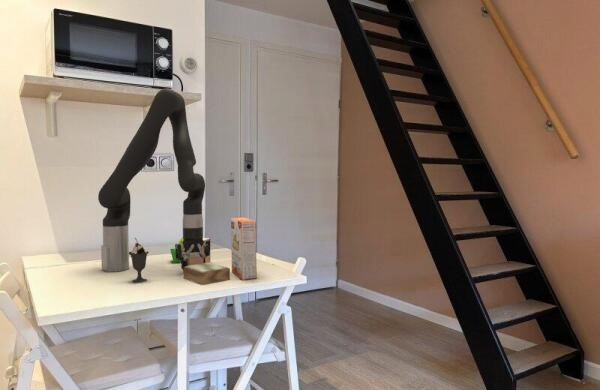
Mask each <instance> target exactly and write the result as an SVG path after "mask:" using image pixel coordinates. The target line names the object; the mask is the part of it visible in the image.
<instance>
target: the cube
mask: <svg viewBox="0 0 600 390" xmlns="http://www.w3.org/2000/svg"><path fill="white" fill-rule="evenodd" d="M186 261H187V266H190V265H196V264H202V263H203V258H202V257H198V256H192V257H188V258H187V260H186ZM182 271H183V270H182ZM183 273H184V271H183Z"/></svg>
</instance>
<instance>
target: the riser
mask: <svg viewBox="0 0 600 390" xmlns="http://www.w3.org/2000/svg"><path fill="white" fill-rule="evenodd" d="M230 273H231V270H230V268H229V267H228V266H224V265H220V264H218V263H217V264H216V263H213V262H211V261H210V262H209V263H202V264H196V265H190V266H185V267H184V272H183V279H185V280H189V281H191V282H194V283H197V284H199V285H201V286H203V285H208V284H214V283H219V282H224V281H230V280H231V277H230V275H231V274H230Z"/></svg>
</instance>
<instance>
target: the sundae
mask: <svg viewBox="0 0 600 390" xmlns="http://www.w3.org/2000/svg"><path fill="white" fill-rule="evenodd" d="M134 240H136V242H135V244H134V245H135V246H133V249H132V250H131V251H129V256H130V257H131V263H132V267H133V268H132V269H134V270H135V271H136V272H137V277H136V278H134V279H133V280H131V282H132V283H135V284H136V283H137V284H138V283H145V282H147V281H148V280H147V279H146V278H143V277H142V271H143V270H145V268H146V265H147V257H148V254H149V253H150V252H149V251H148V250H146V249H145V248H144V245H142V244H140V243H139V241H138V239H137V238H136V237H134Z"/></svg>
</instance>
